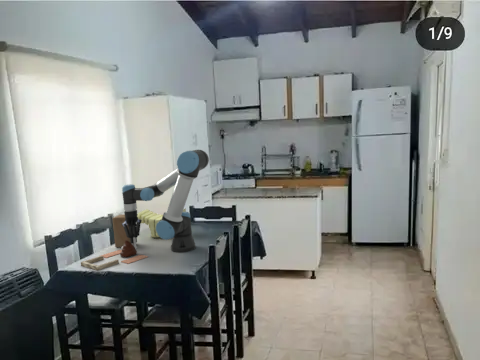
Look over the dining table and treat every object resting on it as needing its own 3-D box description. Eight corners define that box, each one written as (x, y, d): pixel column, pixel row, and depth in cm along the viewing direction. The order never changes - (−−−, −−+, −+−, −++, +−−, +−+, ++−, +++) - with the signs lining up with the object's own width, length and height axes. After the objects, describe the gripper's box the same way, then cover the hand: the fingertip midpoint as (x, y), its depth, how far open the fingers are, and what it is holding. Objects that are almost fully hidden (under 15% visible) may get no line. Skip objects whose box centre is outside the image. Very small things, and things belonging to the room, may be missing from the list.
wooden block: (128, 247, 267) (125, 217, 264) (114, 247, 269) (111, 217, 266) (135, 243, 277) (132, 213, 274) (122, 243, 279) (119, 214, 276)
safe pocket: (118, 263, 235) (118, 259, 235) (97, 270, 225) (97, 266, 224) (102, 258, 246) (101, 255, 246) (81, 265, 235) (80, 262, 235)
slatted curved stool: (138, 238, 288) (136, 213, 286) (149, 232, 304) (147, 209, 302) (178, 238, 281) (176, 213, 279) (187, 232, 296) (185, 208, 294)
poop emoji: (124, 258, 243) (122, 243, 242) (117, 256, 249) (116, 240, 248) (139, 254, 250) (138, 239, 249) (132, 251, 256) (131, 237, 255)
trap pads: (148, 256, 243) (148, 256, 243) (128, 263, 233) (128, 263, 232) (119, 250, 262) (119, 249, 262) (99, 256, 251) (99, 255, 251)
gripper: (135, 207, 258) (139, 244, 261) (117, 211, 248) (121, 249, 251) (143, 208, 253) (146, 246, 256) (125, 212, 243) (128, 251, 246)
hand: (134, 248), depth 253 cm, fingers closed
